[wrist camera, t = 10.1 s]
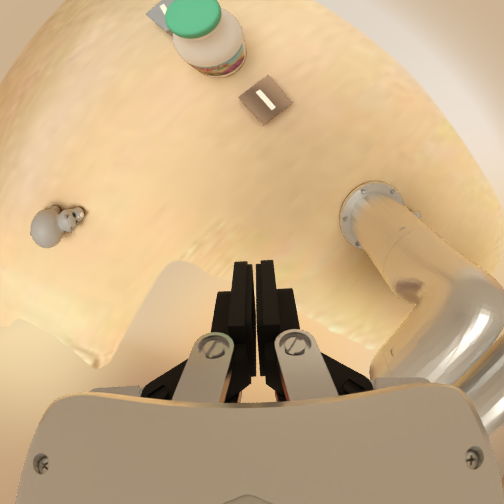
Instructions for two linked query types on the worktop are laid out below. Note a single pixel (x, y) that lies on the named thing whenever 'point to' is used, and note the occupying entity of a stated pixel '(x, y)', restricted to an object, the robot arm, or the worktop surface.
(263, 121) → the walnut block
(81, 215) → the chubby cartoon animal
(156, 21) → the slate grey block
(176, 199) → the worktop surface
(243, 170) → the worktop surface
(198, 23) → the milk bottle
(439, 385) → the robot arm
